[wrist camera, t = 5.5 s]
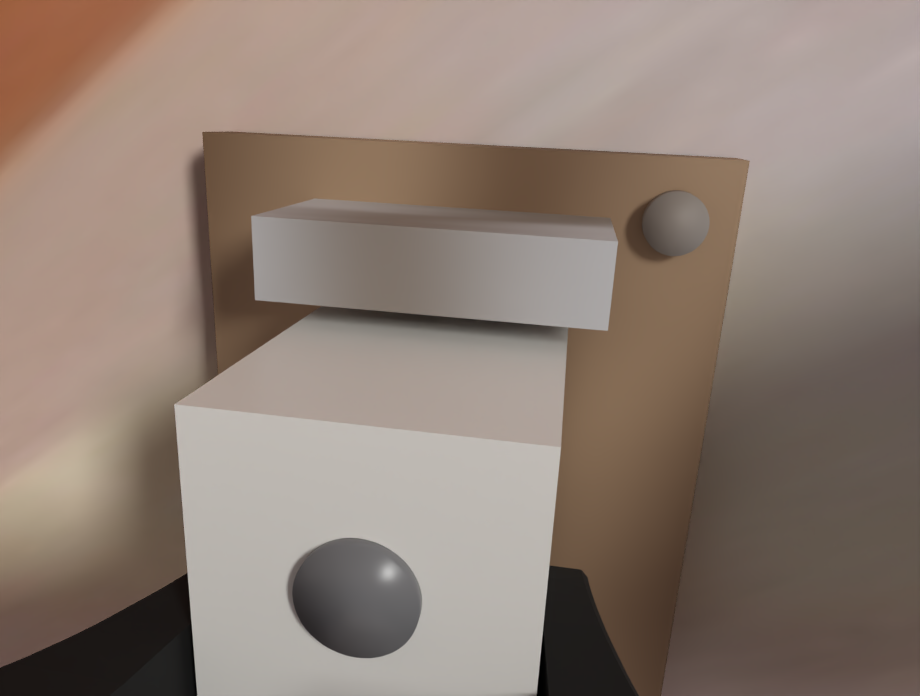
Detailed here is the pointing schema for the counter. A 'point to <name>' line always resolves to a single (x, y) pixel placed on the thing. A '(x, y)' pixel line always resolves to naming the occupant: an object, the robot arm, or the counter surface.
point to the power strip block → (374, 507)
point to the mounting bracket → (515, 308)
